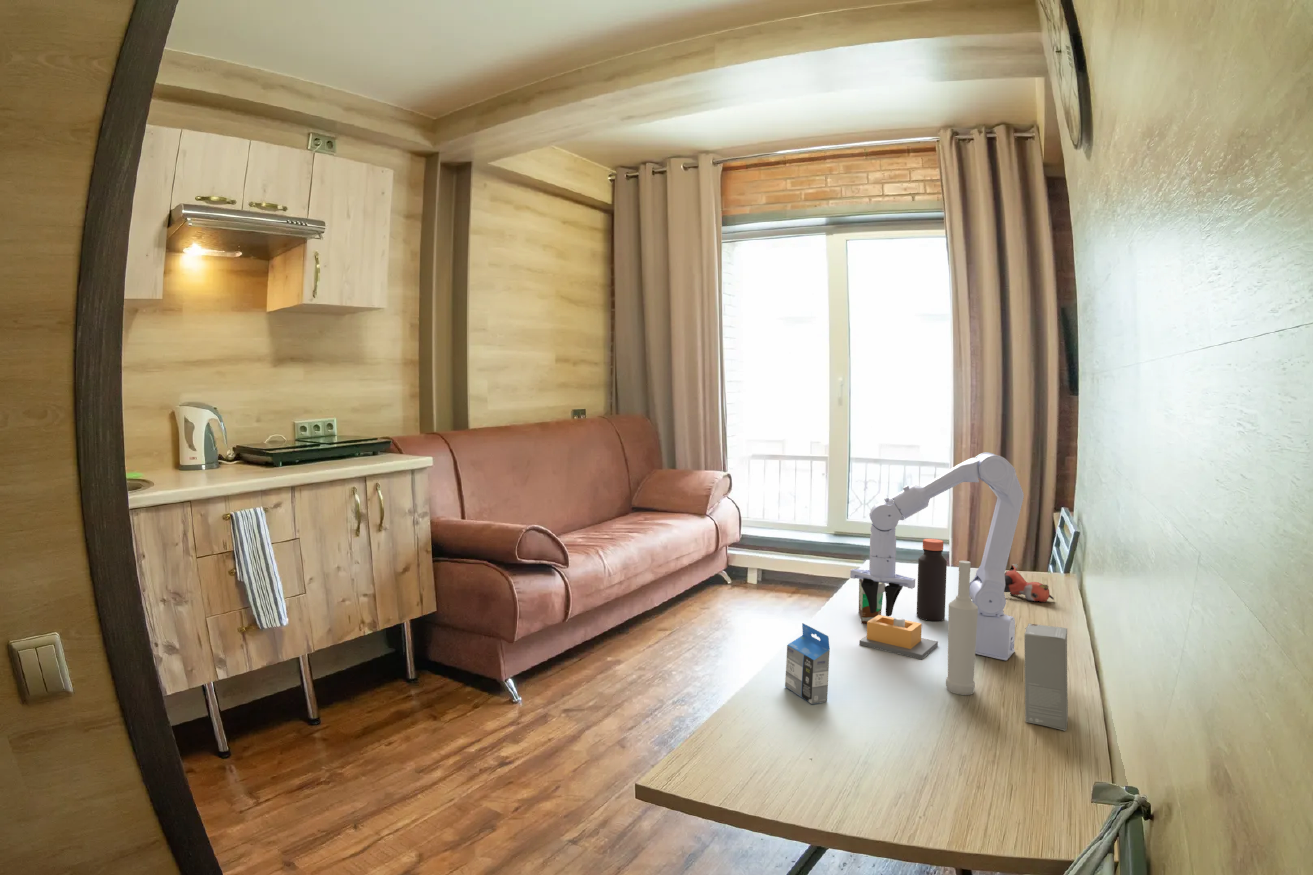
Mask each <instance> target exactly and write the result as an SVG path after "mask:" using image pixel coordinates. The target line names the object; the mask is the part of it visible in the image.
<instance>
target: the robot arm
mask: <svg viewBox="0 0 1313 875" xmlns="http://www.w3.org/2000/svg"><path fill="white" fill-rule="evenodd" d="M979 479H980V480H979ZM980 481H982V482H984V483H985V484H987V485H988V487H989V489H990V490H991V491H992V492H993V494H994V495H995V496H996V502H995V506H994V511H993V514H992V518H991V522H990V526H989V530H988V534H987V539H986V541H985V542H986V543H985V546H984V550H983V553H982V554H983V555H982V559H981V562H980V565H979V567H978V568H977V570H976V572H975V575H974V577H973V579H972V580H971V581H970V587H969V597H971V601H972V602H973V603H974V604H975V605H976V606H977V607H978V615H977V632H976V648H975V655H978V656H984V657H987V658H988V657H989V658H993V659H997V660H1001V661H1008V660H1009V659H1010V658H1011V656H1012V655H1013V654H1014V652H1015V651H1016V650H1015V640H1016V638H1015V636H1016V619H1015V617H1014V616H1011V615H1008V614H1005V613H1004V611H1005V610H1004V609H1005V607H1006V604H1007V599H1006V596H1005V592H1004V589H1005V572H1006V571H1007V570H1006V569H1007V565H1008V561H1009V557H1010V553H1011V549H1012V545H1013V540H1014V537H1015V533H1016V530H1017V526H1018V521H1019V517H1020V514H1021V511H1022V510H1021V509H1022V506H1023V502H1024V496H1025V493H1024V491H1023V488H1022V485H1021V483H1020V481H1019V478H1018V476H1017V472H1016V468H1015V467H1014V466H1013V464H1012V463H1010V462H1009V461H1008V460H1007V458H1005V457H1003V456H1002V455H999V454H998V455H997V454H995V453H993V452H988V451H987V452H985V451H984V452H981V453H979V454H978V455H976V456H975V457H971V458H968V459H966V460H964V461H962V462H960V463H958V464H956V465H955V466H953V467H951V468H950V469H949V470H947V471H945V472H943V473H942V474H940V475H938V476H937V477H935V478H933V479H931V480H930V481H929V482H927V483H925V484H924V485H923V486H922V485H921V486H920V485H916V484H912V485H910V486H909V485H908V484H907V485H905V486H903V487H902V489H903V490H901V491H900V492H898V493H897V494H895V495H893V496H891V497H888V496H887V497H885V498H884V500H883V502H878V503H876V504H874V505H873V506H872V508H871V509H870V513H869V518H870V520H871V526H870V535H869V566H868V567H869V570H868V569H857V568H851V569H850V574H849V575H850V576H849V577H850V579H853V580H855V579H858V580H859V579H863V582H862V583H861V587H862V588H863V590H864V592H865V594H866V597H867V600H868V603H869V607H870V613H874V612H876V611H877V592H878V585H879V582H880V583H885V586H886V587H885V592H884V594H885V616H888V617H891V616H892V615H893V610H894V607H895V603H896V602H897V599H898V596H899V595H900V592H901V591H902V589H903V587H904V588H908V589H911V590H913V589H914V588H916V578H912V577H909V576H904V575H901V574H897V573H896V561H897V560H896V558H897V557H896V556H897V536H896V527H897V526H898V524H899V521H904V520H906V519H908V518H910V517H912V516H913V515H915V514H917V513H919V512H921V511H922V510H924V509H926V508H927V507H928V506H929V502H930V499H932V498H934V497H937V496H938V495H940V494H942V493H945V492H946V491H948V490H950V489H952V488H955V487H957V486H958V485H961V484H962V483H980ZM886 584H888V585H886Z"/></svg>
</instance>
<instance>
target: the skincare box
mask: <svg viewBox="0 0 1313 875" xmlns="http://www.w3.org/2000/svg"><path fill="white" fill-rule="evenodd" d="M1024 629H1025V632H1024V640H1023V641H1024V702H1025V703H1024V704H1025V705H1024V706H1025V709H1024V710H1025V713H1024V714H1025V722H1026V723H1030V724H1034V725H1040V726H1044V727H1048V728H1052V729H1057V730H1061V731H1064V732H1066V731H1067V729H1068V722H1069V709H1068V708H1069V707H1068V706H1069V704H1068V703H1069V702H1068V699H1069V697H1068V628H1067V627H1059V626H1052V625H1045V624H1035V623H1028V624H1027V627H1026V626H1025V628H1024Z"/></svg>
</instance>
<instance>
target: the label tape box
mask: <svg viewBox="0 0 1313 875" xmlns="http://www.w3.org/2000/svg"><path fill="white" fill-rule="evenodd" d="M812 635H814V636H815V635H816V637H818V638H819V639H817V638H816V637H813V636H812ZM785 662H786V663H785V664H786V665H785V678H784V680H785V681H784V687H785V688H786V689H788V690H790V691H791V692H793V693H794V694H796V695H798V696H799V697H800V698H802V699H804V700H805V701H807V702H808V703H810V704H811V705H815V704H821V703H820V702H823V703H826V702H828V691H829V687H828V686H829V668H830V667H829V666H830V638H829V635H827V634H826V633H823V632H821V631H820V630H817V629H816V628H814V627H812V626H810V625H807V624H805V623H802V635H801V636H798V637H797V638H796V639H795V640H793V641H791V642H789V643H788V644H787V645H786V661H785Z"/></svg>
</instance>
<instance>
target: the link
mask: <svg viewBox="0 0 1313 875" xmlns="http://www.w3.org/2000/svg"><path fill="white" fill-rule="evenodd" d="M894 618H895V617H891V616H886V615H882V614H881V615H877V616H876V617H874V618H873V619H871V620H869V621H868V622H867V624H866V636H867V639H869V640H873V641H878V642H882V643H886V644H891V645H895V646H900V647H904V648H908V649H911V648H913V647H914V646H915V645H916V644H918V643H919V642H920V641H921V638H922V628H923V627H922V626H923V625H922V624H923V623H922V622H917V621H912V620H907V619H905V628H903V627H899V626H894Z"/></svg>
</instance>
